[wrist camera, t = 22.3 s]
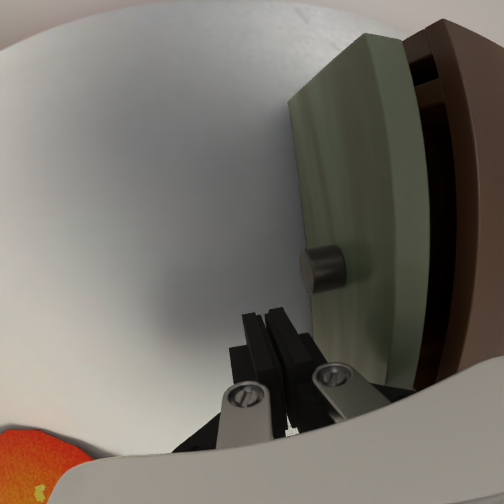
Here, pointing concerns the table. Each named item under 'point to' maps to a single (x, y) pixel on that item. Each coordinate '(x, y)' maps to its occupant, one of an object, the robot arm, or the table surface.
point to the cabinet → (470, 183)
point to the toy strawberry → (34, 465)
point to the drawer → (377, 213)
